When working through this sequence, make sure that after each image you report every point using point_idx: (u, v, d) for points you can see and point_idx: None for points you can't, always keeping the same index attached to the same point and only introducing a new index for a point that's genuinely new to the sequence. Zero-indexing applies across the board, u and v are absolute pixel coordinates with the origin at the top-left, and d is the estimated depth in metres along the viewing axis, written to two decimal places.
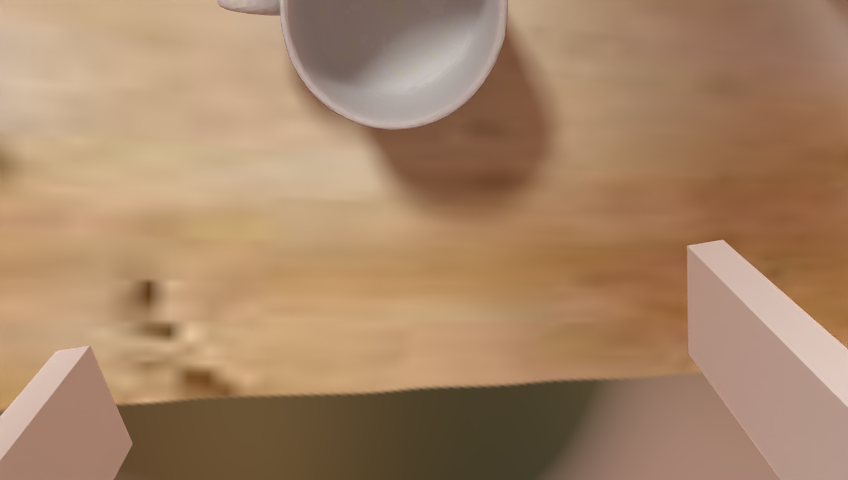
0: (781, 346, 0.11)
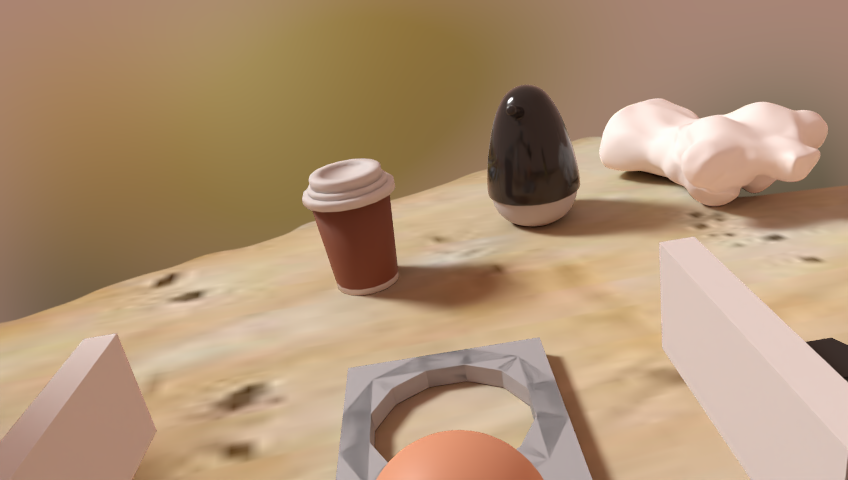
0: (742, 339, 0.11)
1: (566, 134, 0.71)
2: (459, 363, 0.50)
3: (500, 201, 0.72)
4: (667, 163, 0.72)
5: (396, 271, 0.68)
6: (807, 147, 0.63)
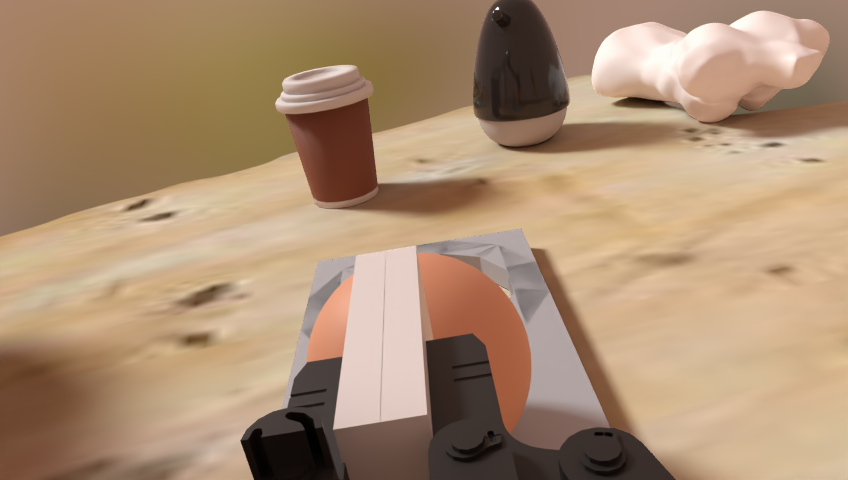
0: None
1: (555, 46, 0.68)
2: (435, 253, 0.47)
3: (486, 118, 0.69)
4: (662, 78, 0.69)
5: (375, 185, 0.64)
6: (809, 49, 0.60)
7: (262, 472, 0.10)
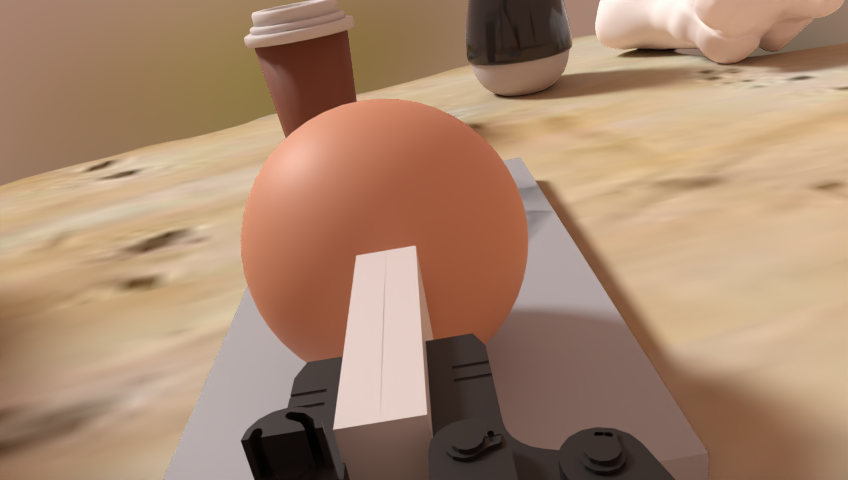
0: None
1: None
2: None
3: (480, 62, 0.63)
4: (675, 17, 0.63)
5: None
6: None
7: (262, 472, 0.10)
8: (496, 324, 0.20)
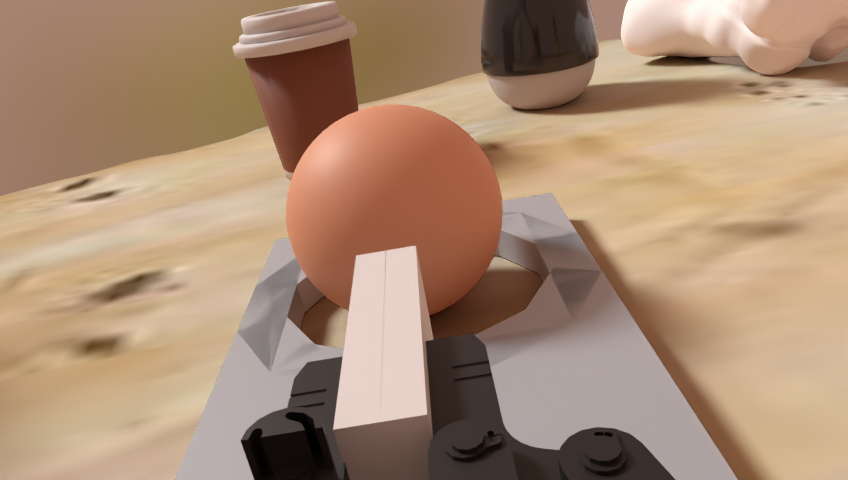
0: None
1: None
2: None
3: (497, 73, 0.56)
4: (714, 22, 0.57)
5: None
6: None
7: (262, 472, 0.10)
8: None
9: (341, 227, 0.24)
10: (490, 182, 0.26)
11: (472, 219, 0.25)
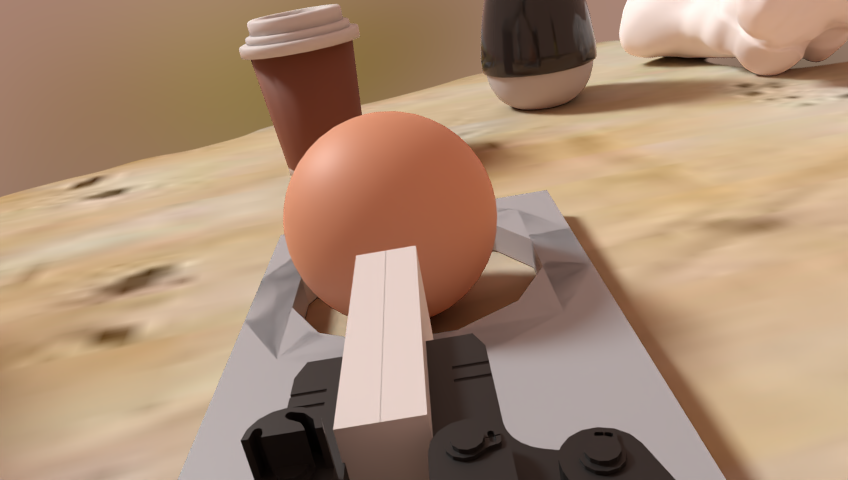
0: None
1: None
2: None
3: (497, 74, 0.58)
4: (710, 24, 0.58)
5: None
6: None
7: (262, 472, 0.10)
8: None
9: (342, 260, 0.25)
10: (485, 197, 0.26)
11: (468, 241, 0.25)
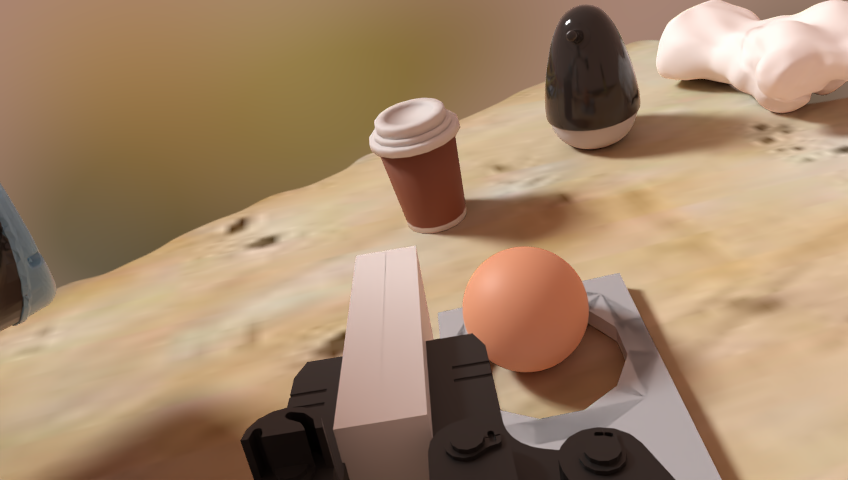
0: None
1: (626, 54, 0.69)
2: None
3: (560, 127, 0.72)
4: (734, 72, 0.71)
5: (464, 206, 0.69)
6: None
7: (262, 472, 0.10)
8: None
9: (500, 315, 0.44)
10: (579, 284, 0.46)
11: (571, 304, 0.45)
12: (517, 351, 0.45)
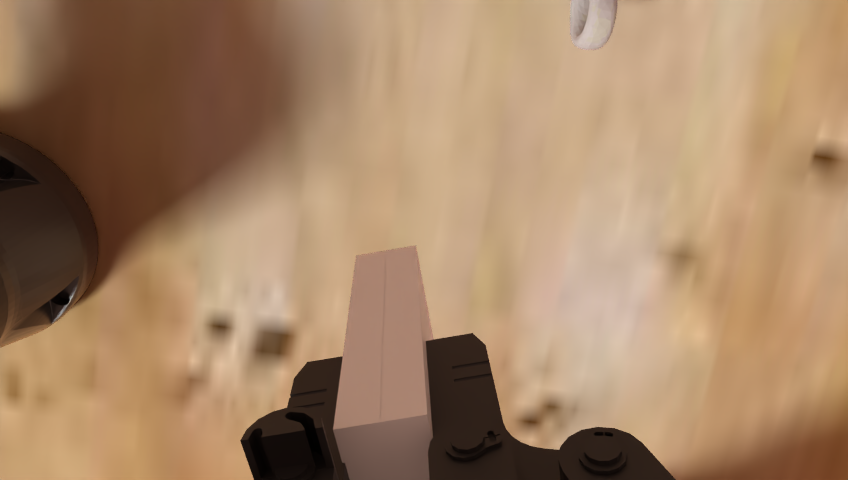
0: None
1: None
2: None
3: None
4: None
5: None
6: None
7: (262, 472, 0.10)
8: None
9: None
10: None
11: None
12: None
